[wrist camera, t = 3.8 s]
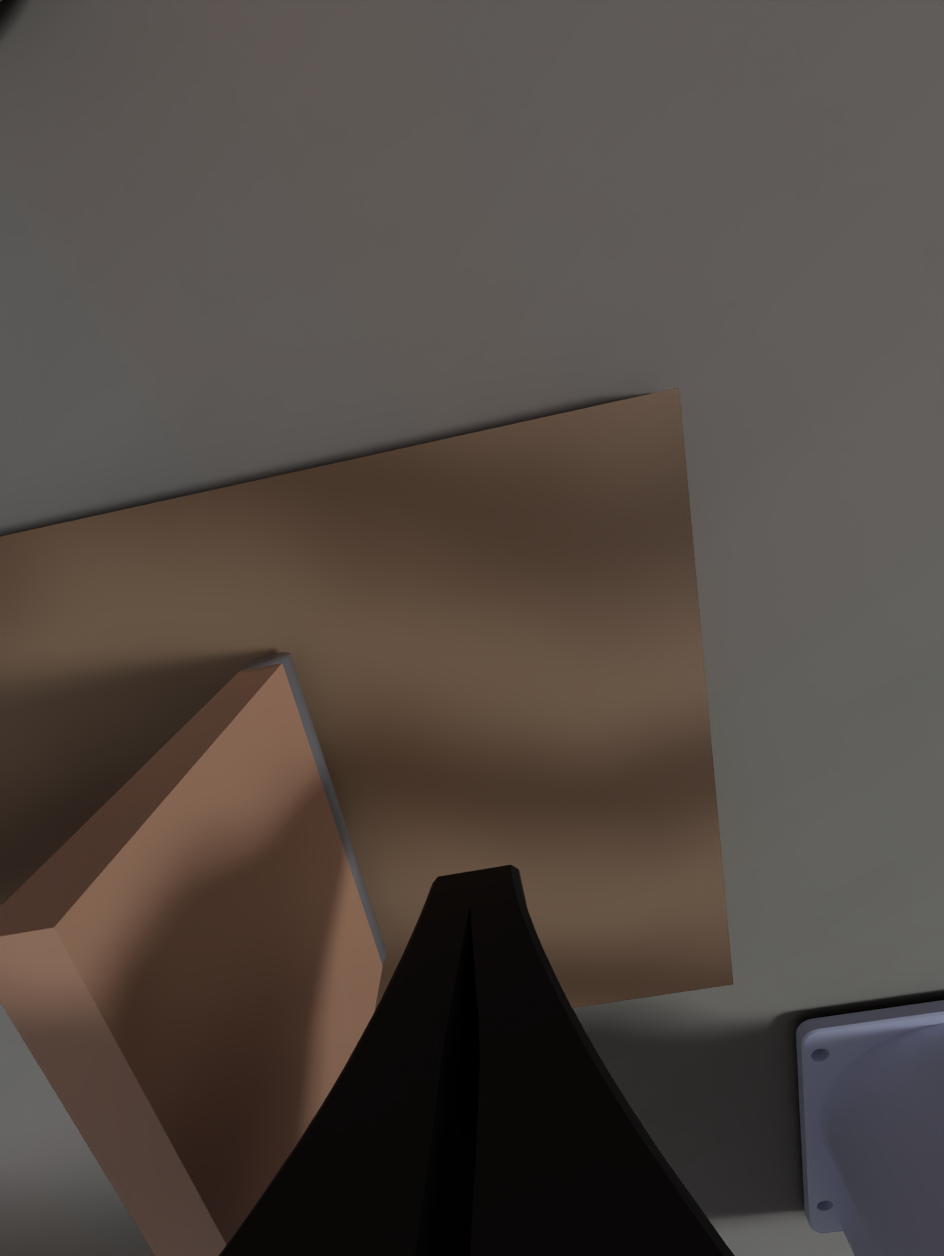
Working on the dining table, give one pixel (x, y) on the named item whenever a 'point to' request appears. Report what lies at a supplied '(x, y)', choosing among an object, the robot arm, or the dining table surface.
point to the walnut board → (414, 675)
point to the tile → (200, 962)
